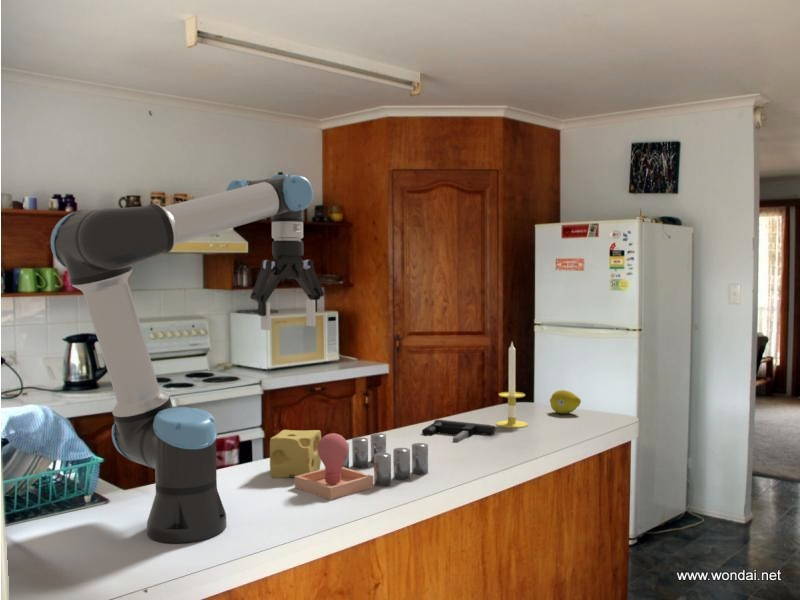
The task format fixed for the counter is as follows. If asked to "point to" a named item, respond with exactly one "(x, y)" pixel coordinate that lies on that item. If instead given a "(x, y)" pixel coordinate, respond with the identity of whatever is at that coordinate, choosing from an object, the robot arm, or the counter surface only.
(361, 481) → the dish
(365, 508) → the counter surface
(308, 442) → the cheese
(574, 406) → the lemon
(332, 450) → the light bulb
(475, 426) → the black submachine gun
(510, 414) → the candle
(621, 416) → the counter surface
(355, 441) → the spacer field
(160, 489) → the robot arm
